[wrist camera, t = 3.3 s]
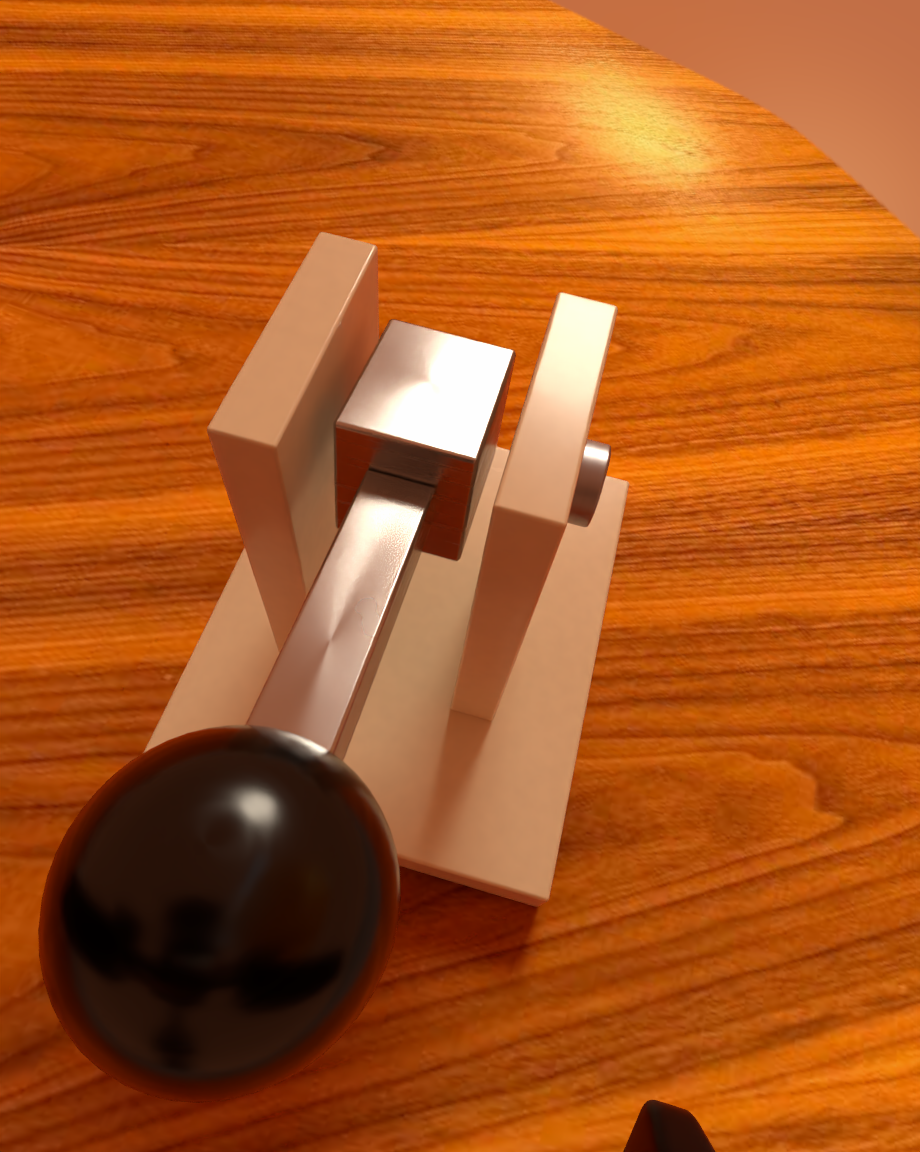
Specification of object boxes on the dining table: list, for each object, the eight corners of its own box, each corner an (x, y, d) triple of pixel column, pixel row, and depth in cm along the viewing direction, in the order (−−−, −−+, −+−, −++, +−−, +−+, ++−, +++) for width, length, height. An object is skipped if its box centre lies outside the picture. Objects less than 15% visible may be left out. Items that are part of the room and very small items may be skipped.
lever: (336, 1152, 8) (328, 1160, 5) (32, 1053, 8) (-132, 1010, 6) (524, 485, 15) (566, 328, 12) (350, 438, 15) (349, 272, 12)
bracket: (538, 908, 16) (689, 823, 8) (146, 790, 17) (-85, 597, 9) (618, 505, 21) (757, 210, 13) (320, 425, 22) (280, 95, 14)
